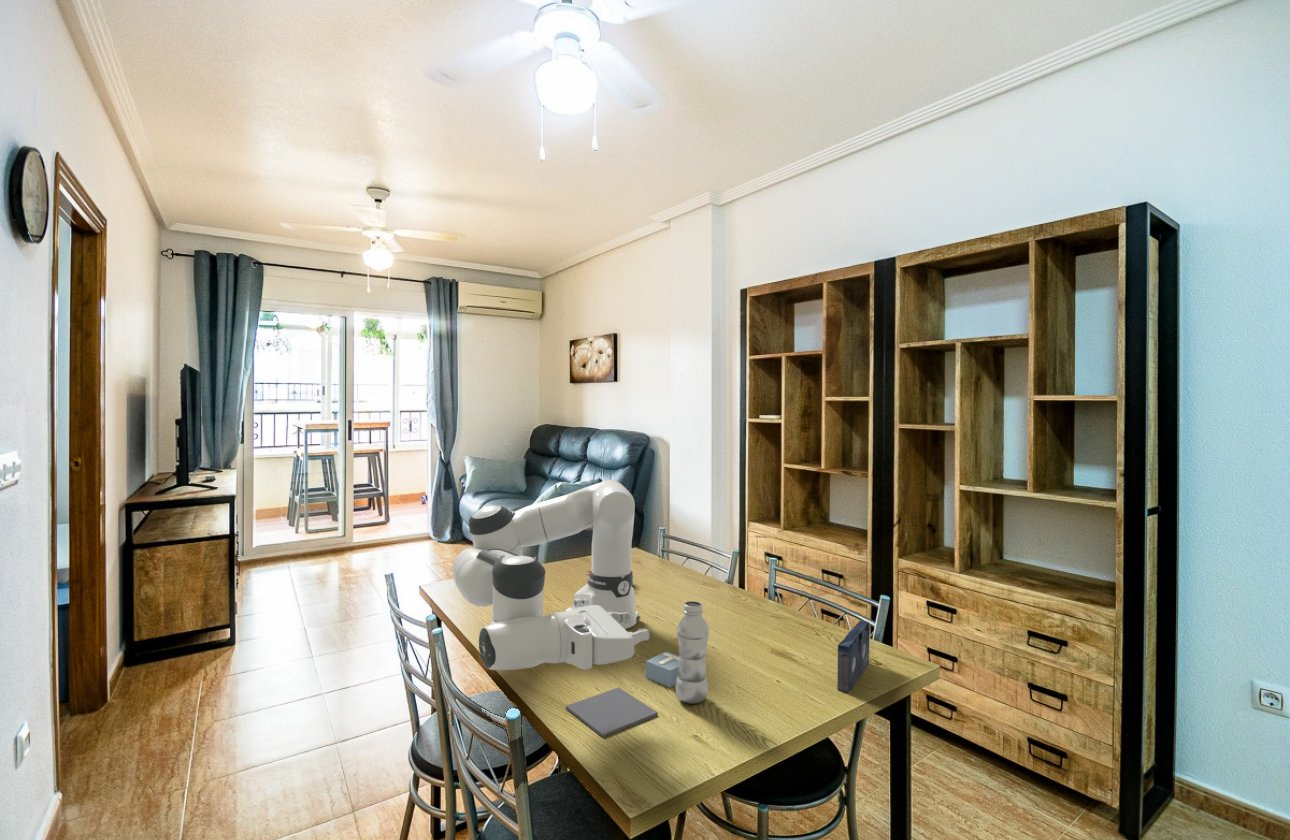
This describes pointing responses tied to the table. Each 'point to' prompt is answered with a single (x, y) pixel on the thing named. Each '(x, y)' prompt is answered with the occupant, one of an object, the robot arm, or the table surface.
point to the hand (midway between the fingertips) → (638, 625)
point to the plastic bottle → (692, 654)
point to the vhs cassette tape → (853, 656)
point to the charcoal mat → (611, 711)
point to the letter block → (663, 669)
